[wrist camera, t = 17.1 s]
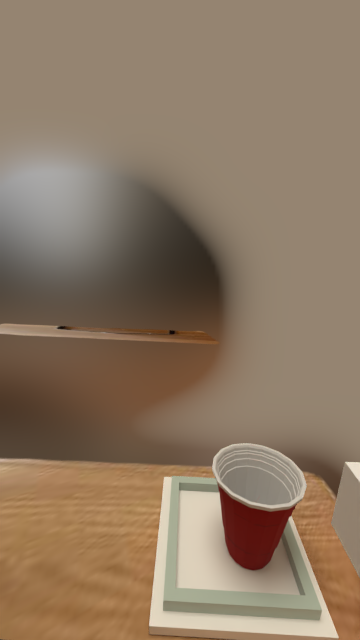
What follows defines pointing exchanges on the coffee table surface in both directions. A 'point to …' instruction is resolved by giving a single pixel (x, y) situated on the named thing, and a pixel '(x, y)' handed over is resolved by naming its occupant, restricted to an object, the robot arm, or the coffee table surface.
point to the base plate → (228, 577)
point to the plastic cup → (255, 500)
